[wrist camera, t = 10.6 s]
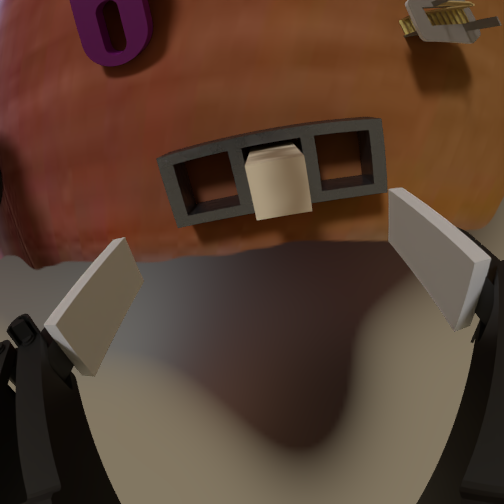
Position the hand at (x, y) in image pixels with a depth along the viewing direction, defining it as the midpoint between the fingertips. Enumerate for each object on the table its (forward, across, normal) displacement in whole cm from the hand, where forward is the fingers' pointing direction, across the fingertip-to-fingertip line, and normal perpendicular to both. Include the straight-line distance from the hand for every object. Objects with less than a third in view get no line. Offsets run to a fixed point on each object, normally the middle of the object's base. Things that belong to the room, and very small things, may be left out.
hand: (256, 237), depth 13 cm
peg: (+23, +2, -1) cm, 24 cm away
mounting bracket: (+24, -13, +26) cm, 38 cm away
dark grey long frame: (+23, +2, -1) cm, 23 cm away
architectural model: (+24, +27, +17) cm, 40 cm away
